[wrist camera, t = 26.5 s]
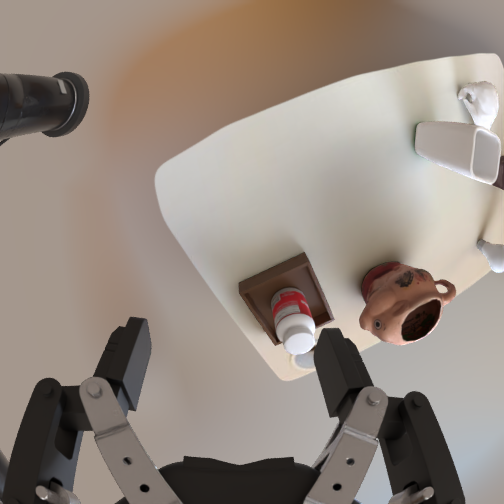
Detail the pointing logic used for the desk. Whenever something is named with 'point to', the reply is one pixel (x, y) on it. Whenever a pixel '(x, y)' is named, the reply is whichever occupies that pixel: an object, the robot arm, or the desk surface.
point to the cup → (460, 148)
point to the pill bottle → (293, 321)
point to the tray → (279, 277)
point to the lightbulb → (493, 254)
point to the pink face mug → (402, 303)
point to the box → (500, 175)
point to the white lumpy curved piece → (481, 102)
